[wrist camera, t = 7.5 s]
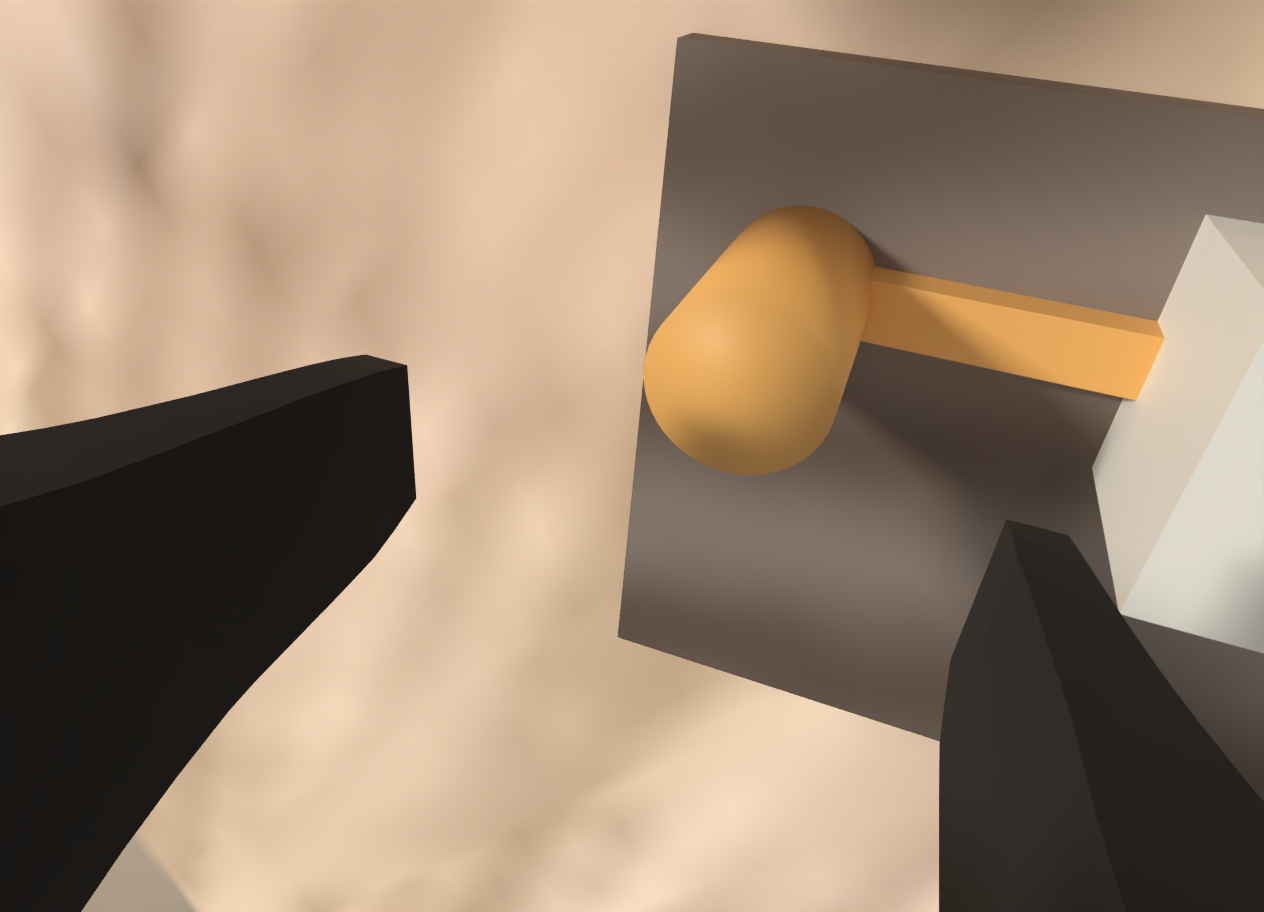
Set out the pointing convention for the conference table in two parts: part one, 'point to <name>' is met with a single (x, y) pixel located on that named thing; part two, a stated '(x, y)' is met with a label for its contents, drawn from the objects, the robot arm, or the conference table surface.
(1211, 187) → the lane rack
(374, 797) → the conference table surface
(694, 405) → the orange mallet
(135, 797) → the robot arm
